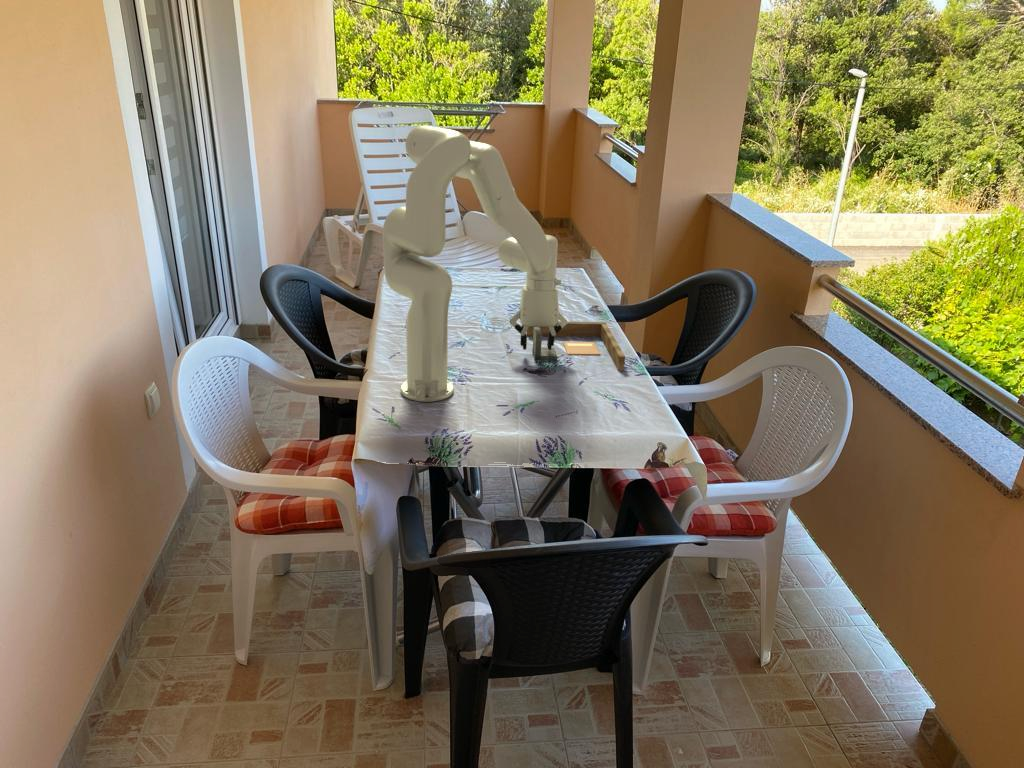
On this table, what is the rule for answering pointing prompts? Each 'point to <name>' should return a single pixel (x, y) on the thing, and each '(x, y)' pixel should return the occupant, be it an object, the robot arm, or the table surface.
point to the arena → (589, 331)
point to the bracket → (539, 352)
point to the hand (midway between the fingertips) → (536, 347)
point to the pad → (581, 348)
